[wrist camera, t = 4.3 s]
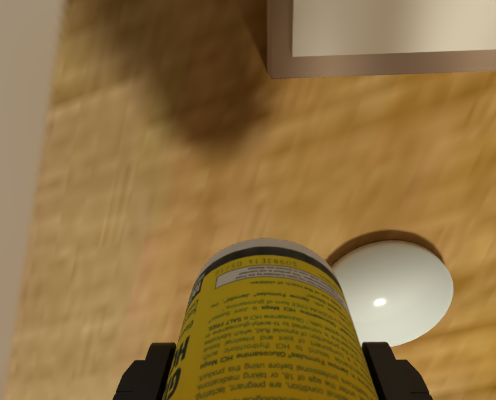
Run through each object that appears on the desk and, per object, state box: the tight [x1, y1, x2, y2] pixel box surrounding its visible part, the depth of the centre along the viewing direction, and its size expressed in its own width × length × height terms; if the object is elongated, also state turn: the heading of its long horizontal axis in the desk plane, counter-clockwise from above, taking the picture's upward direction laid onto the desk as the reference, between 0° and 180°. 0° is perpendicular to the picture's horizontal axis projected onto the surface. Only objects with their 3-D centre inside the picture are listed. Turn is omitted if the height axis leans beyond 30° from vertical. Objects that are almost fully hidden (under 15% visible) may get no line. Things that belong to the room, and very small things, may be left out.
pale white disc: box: [331, 240, 453, 347], centre depth 23 cm, size 9×9×1 cm
